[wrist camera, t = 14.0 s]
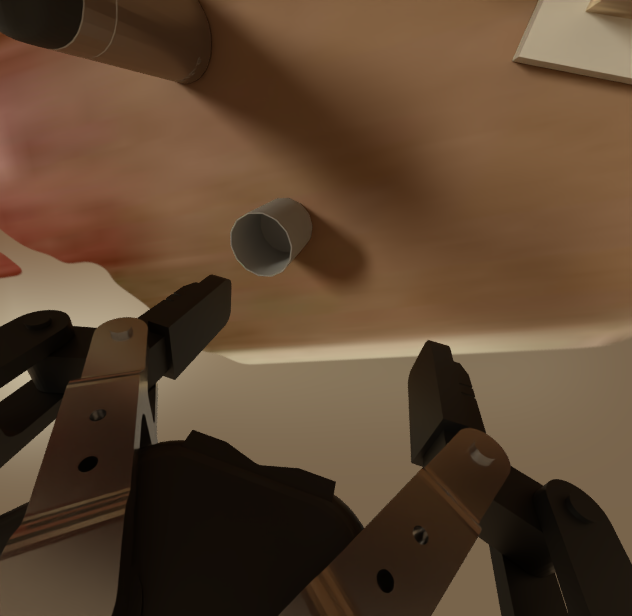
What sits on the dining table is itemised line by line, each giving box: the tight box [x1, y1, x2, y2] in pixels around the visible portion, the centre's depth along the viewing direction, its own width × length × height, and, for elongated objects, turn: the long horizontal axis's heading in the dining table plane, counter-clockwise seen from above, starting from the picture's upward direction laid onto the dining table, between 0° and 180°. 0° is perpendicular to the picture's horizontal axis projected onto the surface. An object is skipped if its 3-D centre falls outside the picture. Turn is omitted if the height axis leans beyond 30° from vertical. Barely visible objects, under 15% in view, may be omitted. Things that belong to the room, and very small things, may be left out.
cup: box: [231, 198, 312, 276], centre depth 40 cm, size 8×8×10 cm
